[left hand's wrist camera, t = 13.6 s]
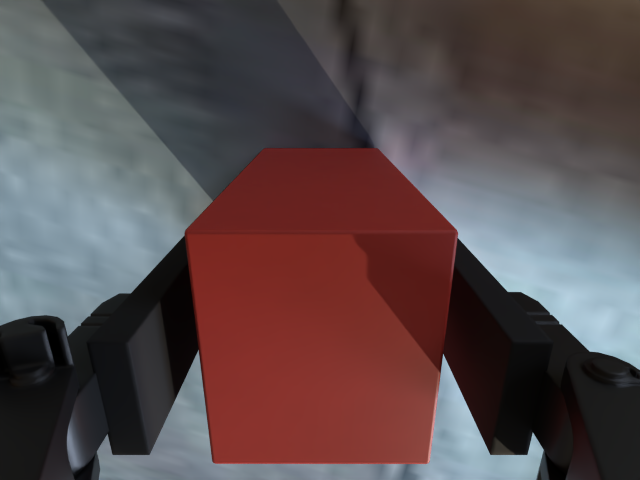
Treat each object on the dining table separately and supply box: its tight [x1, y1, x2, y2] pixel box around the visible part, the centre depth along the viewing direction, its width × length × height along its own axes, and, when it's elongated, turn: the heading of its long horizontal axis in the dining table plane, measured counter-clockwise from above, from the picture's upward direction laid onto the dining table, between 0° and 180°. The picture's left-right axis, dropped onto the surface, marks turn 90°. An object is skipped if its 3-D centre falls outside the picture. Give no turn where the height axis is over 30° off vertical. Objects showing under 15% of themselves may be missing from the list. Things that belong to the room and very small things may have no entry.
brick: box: [185, 148, 458, 464], centre depth 14 cm, size 5×6×12 cm
